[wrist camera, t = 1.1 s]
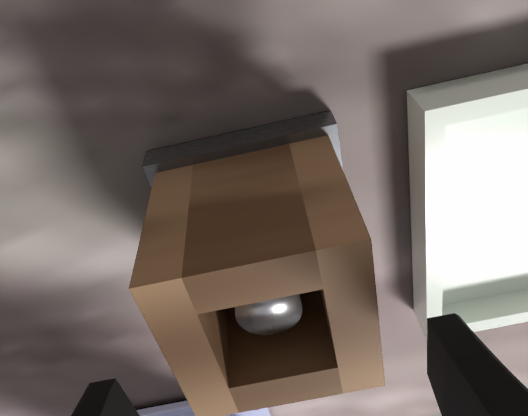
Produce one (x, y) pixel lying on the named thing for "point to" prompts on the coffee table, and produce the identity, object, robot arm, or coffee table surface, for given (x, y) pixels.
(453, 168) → the tray
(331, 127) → the grey base with peg
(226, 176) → the brown framed cube
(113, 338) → the coffee table surface
